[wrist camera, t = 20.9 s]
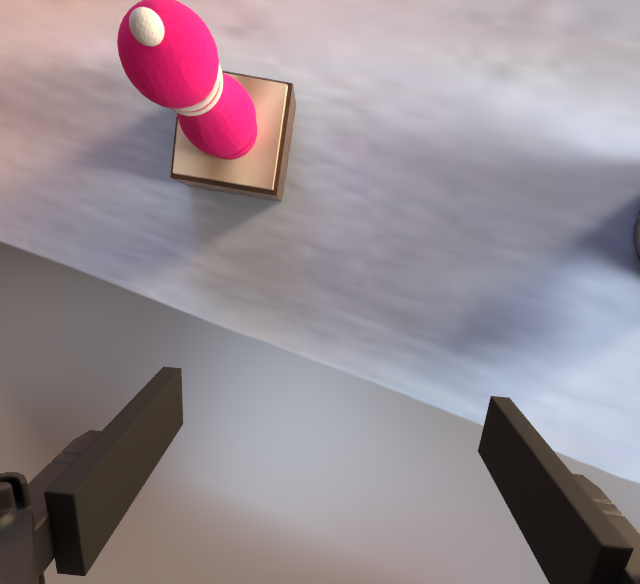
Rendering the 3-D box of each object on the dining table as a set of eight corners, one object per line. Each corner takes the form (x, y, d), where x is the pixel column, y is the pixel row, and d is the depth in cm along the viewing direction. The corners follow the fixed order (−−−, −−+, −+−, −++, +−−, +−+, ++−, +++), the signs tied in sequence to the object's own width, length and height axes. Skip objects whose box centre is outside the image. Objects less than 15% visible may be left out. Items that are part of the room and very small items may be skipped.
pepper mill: (247, 83, 38) (174, -82, 19) (272, 150, 39) (228, 60, 20) (184, 108, 39) (46, -28, 19) (210, 174, 40) (106, 110, 20)
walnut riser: (296, 104, 45) (292, 79, 38) (282, 201, 47) (276, 195, 40) (200, 87, 45) (179, 59, 38) (189, 185, 47) (167, 176, 40)
